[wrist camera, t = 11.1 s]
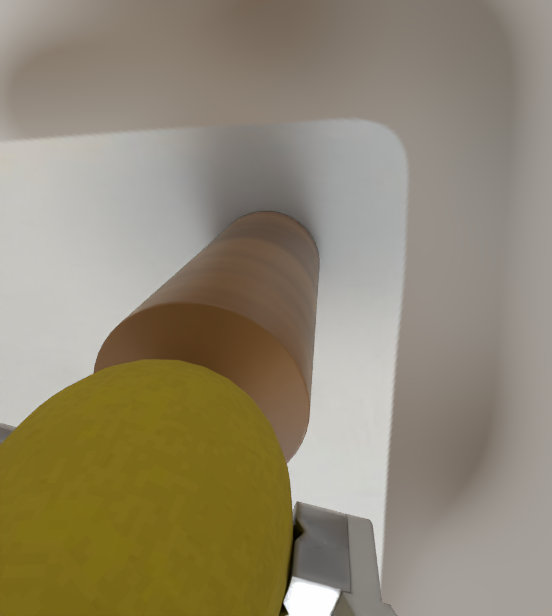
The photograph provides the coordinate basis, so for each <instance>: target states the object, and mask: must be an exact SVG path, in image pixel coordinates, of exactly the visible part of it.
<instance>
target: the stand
mask: <svg viewBox="0 0 552 616" xmlns="http://www.w3.org/2000/svg"><path fill="white" fill-rule="evenodd" d="M319 264H320V263H319V254H318V250H317V247H316V244H315V242H314V240H313V238H312V236H311V235H310V234H309V232H308V231H307V230H306V229H305V228H304V227H303V226H302V225H301V224H300V223H299V222H297V221H296V220H294V219H293V218H291V217H289V216H287V215H284V214H281V213H277V212H272V211H260V212H254V213H250V214H248V215H245V216H243V217H241V218H239V219H238V220H236V221H235V222H234V223H232V224H231V225H230V226H229V227H228V228H227V229H226V230H224V231H223V232H222V233H221V234H220V235H219V236H218V237H217V238H215V239H214V240H213V241H212V242H211V243H210V244H209V245H208V246H206V247H205V248H204V249H203V250H202V251H201V252H200V253H199V254H197V255H196V256H195V257H194V258H193V259H192V260H191V261H189V262H188V263H187V264H186V265H185V266H184V267H183V268H182V269H180V270H179V271H178V272H177V273H176V274H175V275H174V276H173V277H171V278H170V279H169V280H168V281H167V282H166V283H165V284H164V285H162V286H161V287H160V288H159V289H158V290H157V291H156V292H155V293H153V294H152V295H151V296H150V297H149V298H148V299H147V300H146V301H144V302H143V303H142V304H141V305H140V306H139V307H138V308H137V309H135V310H134V311H133V312H132V313H131V314H130V315H129V316H128V317H126V318H125V319H124V320H123V321H122V322H121V323H120V324H119V325H118V326H117V327H116V328H115V329H114V330H113V331H112V332H111V333H110V334H109V336H108V337H107V339H106V340H105V341H104V343H103V345H102V347H101V349H100V351H99V353H98V356H97V359H96V363H95V367H94V373H96V372H98V371H100V370H102V369H104V368H107V367H111V366H115V365H119V364H124V363H129V362H133V361H138V360H143V359H161V360H180V361H184V362H188V363H192V364H196V365H200V366H203V367H206V368H208V369H210V370H212V371H214V372H216V373H218V374H220V375H222V376H224V377H226V378H228V379H229V380H231V381H232V382H233V383H234V384H236V385H237V386H238V387H239V388H240V389H242V390H243V391H244V392H245V393H247V394H248V395H249V396H250V397H251V398H252V399H253V401H254V402H255V403H256V404H257V406H258V407H259V408H260V410H261V411H262V412H263V414H264V415H265V416H266V418H267V419H268V420H269V422H270V423H271V425H272V427H273V429H274V432H275V434H276V437H277V439H278V442H279V444H280V447H281V449H282V452H283V454H284V457H285V460H286V464H287V463H288V462H289V461H290V459H291V458H292V457H293V456H294V455H295V453H296V452H297V450H298V449H299V447H300V445H301V444H302V442H303V439H304V437H305V434H306V432H307V427H308V423H309V415H310V400H311V385H312V370H313V355H314V340H315V325H316V310H317V295H318V280H319Z"/></svg>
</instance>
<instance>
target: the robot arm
mask: <svg viewBox="0 0 552 616" xmlns="http://www.w3.org/2000/svg"><path fill="white" fill-rule="evenodd" d="M15 429H16V427H13V426H10V425H6V424H3V423H0V444H1V443H2V442H3V441H4V440H5V439H6V438H7V437H8V436H9V435H10V434H11V433H12V432H13V431H14V430H15ZM292 513H293V547H292V556H291V565H290V570H289V575H288V580H287V586H286V589H285V593H284V597H283V601H282V605H281V609H280V612H279V616H397V615H396V613H395V612H394V610H393V609H392V607H391V605H389V604H386V603H382V598H381V590H380V582H379V574H378V565H377V557H376V549H375V541H374V533H373V525H372V523H371V521H370V520H368V519H364V518H361V517H357V516H353V515H349V514H344V513H341V512H337V511H333V510H329V509H325V508H321V507H317V506H313V505H309V504H306V503H302V502H298V501H297V502H296V504H295V506H294V509H293V512H292Z"/></svg>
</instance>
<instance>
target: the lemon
mask: <svg viewBox="0 0 552 616" xmlns="http://www.w3.org/2000/svg"><path fill="white" fill-rule="evenodd" d="M292 547H293V513H292V500H291V488H290V479H289V473H288V467H287V464H286V460H285V457H284V454H283V452H282V449H281V447H280V444H279V442H278V439H277V437H276V434H275V432H274V429H273V427H272V425H271V423H270V422H269V420H268V419H267V418H266V416H265V415H264V414H263V412H262V411H261V410H260V408H259V407H258V406H257V404H256V403H255V402H254V401H253V399H252V398H251V397H250V396H249V395H248V394H247V393H245V392H244V391H243V390H242V389H240V388H239V387H238V386H237V385H236V384H234V383H233V382H232V381H231V380H229V379H228V378H226V377H224V376H222V375H220V374H218V373H216V372H214V371H212V370H210V369H208V368H206V367H203V366H200V365H196V364H192V363H188V362H184V361H180V360H161V359H143V360H138V361H133V362H129V363H124V364H119V365H115V366H111V367H107V368H104V369H102V370H100V371H98V372H96V373H94V374H92V375H90V376H88V377H86V378H84V379H82V380H80V381H78V382H76V383H74V384H72V385H70V386H68V387H66V388H65V389H63V390H62V391H60V392H58V393H57V394H55V395H54V396H52V397H51V398H49V399H48V400H47V401H46V402H44V403H43V404H42V405H40V406H39V407H38V408H37V409H36V410H35V411H33V412H32V413H31V414H30V415H29V416H28V417H27V418H26V419H25V420H24V421H23V422H22V423H21V424H20V425H19V426H18V427H17V428H16V429H15V430H14V431H13V432H12V433H11V434H10V435H9V436H8V437H7V438H6V439H5V440H4V441H3V442H2V443H1V444H0V616H279V612H280V609H281V605H282V601H283V597H284V593H285V589H286V586H287V580H288V575H289V570H290V565H291V556H292Z"/></svg>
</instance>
